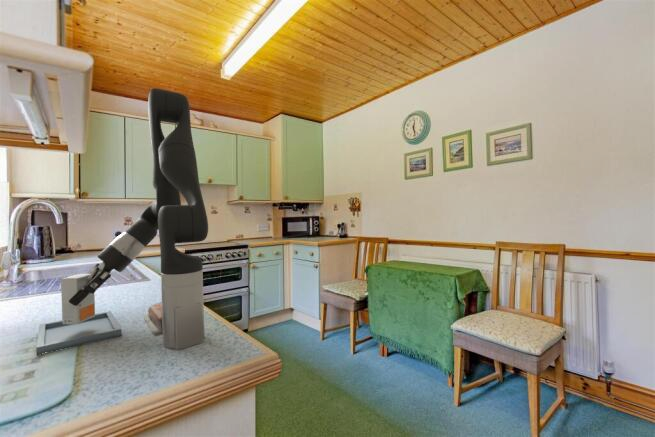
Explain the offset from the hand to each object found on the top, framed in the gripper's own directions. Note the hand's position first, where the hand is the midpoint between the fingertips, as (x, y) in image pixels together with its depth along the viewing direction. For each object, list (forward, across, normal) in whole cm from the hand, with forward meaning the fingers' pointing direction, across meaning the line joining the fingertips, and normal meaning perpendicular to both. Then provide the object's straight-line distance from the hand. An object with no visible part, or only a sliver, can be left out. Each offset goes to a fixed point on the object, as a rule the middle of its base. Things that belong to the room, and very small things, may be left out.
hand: (71, 300), depth 82 cm
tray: (+5, 0, +7) cm, 9 cm away
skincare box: (+3, 0, +5) cm, 6 cm away
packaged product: (-8, +7, +22) cm, 24 cm away
